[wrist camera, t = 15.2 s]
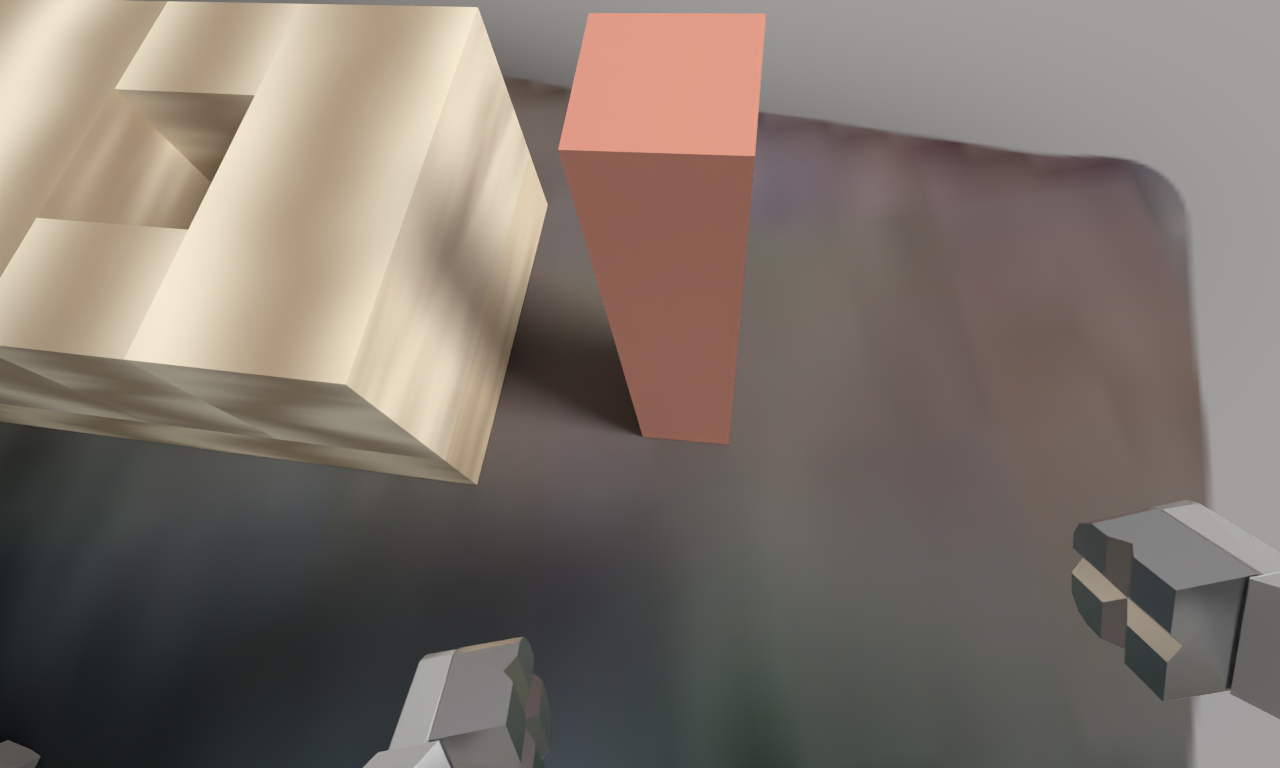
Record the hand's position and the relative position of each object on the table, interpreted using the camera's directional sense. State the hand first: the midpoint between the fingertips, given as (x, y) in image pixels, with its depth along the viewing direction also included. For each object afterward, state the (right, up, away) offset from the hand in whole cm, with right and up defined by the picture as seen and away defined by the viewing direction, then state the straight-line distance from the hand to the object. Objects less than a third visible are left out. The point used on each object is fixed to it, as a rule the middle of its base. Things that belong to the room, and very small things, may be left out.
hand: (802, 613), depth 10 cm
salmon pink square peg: (-1, +3, +14) cm, 14 cm away
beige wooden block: (-19, +7, +17) cm, 26 cm away
